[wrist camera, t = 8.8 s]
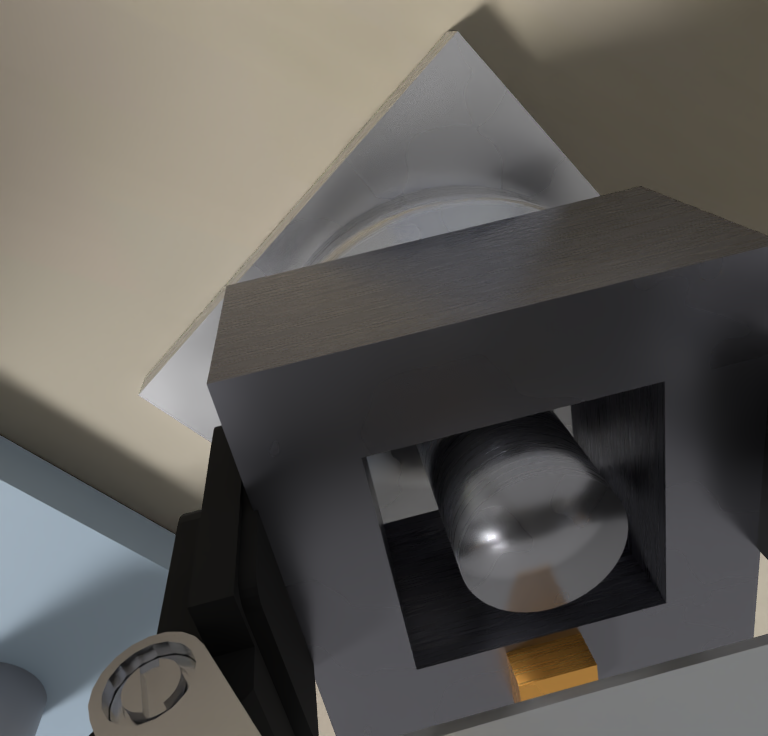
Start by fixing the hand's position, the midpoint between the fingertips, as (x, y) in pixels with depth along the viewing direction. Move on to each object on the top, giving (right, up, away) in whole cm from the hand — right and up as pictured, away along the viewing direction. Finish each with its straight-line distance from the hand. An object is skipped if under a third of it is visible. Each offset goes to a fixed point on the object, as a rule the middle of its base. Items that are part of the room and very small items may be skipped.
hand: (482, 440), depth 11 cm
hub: (0, +2, +3) cm, 4 cm away
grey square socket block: (0, 0, +1) cm, 1 cm away
